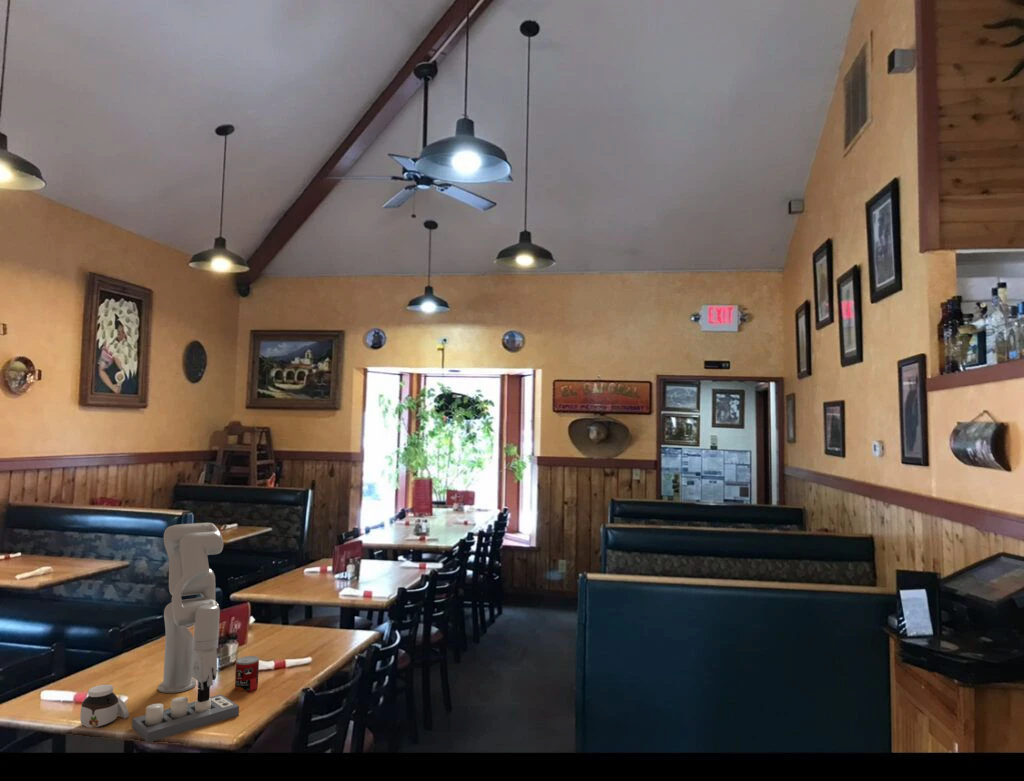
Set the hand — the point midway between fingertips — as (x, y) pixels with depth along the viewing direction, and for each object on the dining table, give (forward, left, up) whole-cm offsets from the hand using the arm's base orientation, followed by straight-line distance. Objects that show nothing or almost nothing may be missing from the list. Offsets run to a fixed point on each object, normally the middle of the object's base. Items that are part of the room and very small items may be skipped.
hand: (203, 700), depth 219 cm
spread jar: (-19, -23, -7) cm, 31 cm away
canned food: (-15, +22, -7) cm, 28 cm away
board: (0, -5, -6) cm, 8 cm away
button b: (0, -8, -3) cm, 8 cm away
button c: (0, -15, -3) cm, 15 cm away
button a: (0, 0, -5) cm, 5 cm away
